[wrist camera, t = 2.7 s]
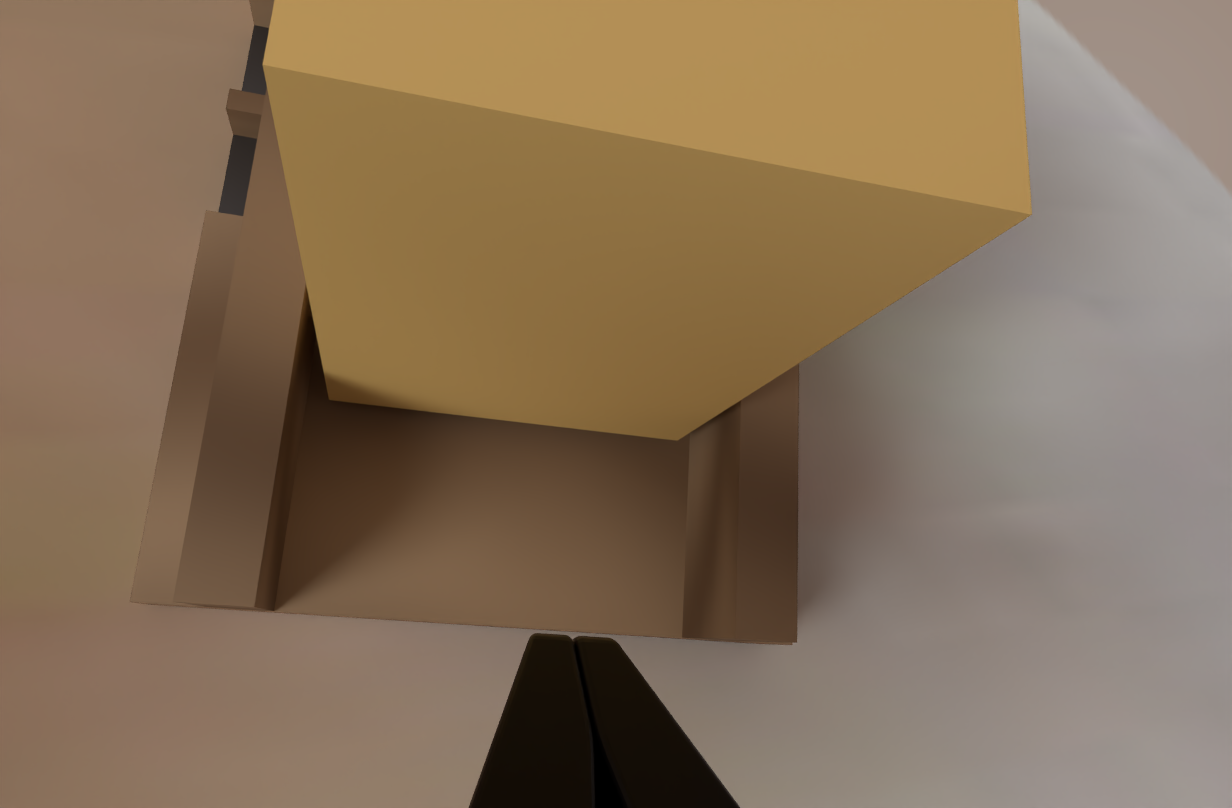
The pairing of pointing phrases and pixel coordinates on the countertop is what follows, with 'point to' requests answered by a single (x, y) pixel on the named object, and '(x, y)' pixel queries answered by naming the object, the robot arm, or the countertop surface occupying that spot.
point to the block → (630, 190)
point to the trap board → (437, 472)
